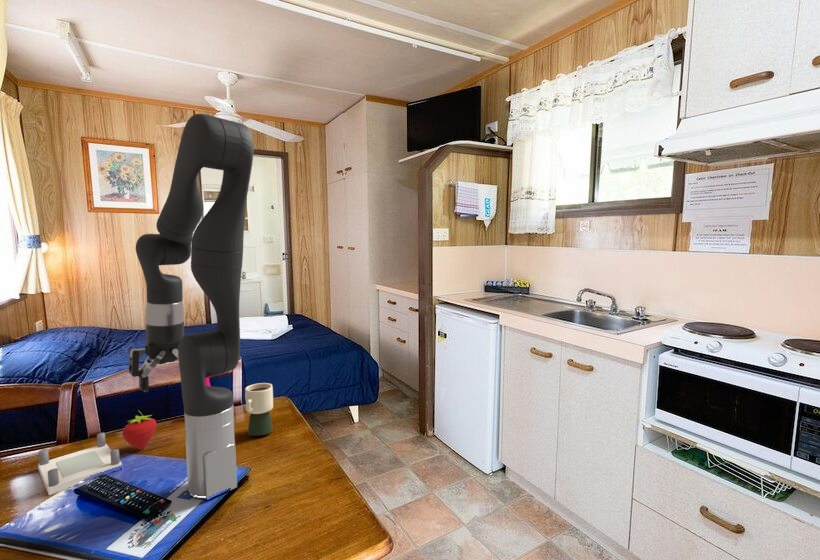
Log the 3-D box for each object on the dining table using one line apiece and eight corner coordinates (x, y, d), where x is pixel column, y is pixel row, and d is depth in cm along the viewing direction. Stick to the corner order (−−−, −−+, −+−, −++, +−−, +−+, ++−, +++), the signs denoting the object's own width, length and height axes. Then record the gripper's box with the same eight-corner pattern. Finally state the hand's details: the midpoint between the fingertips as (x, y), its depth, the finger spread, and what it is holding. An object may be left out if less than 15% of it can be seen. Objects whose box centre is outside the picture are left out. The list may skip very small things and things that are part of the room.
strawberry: (118, 453, 98) (115, 414, 97) (149, 440, 104) (146, 403, 104) (132, 459, 95) (130, 419, 94) (163, 445, 102) (161, 407, 101)
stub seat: (122, 469, 91) (121, 450, 90) (48, 495, 81) (47, 474, 81) (105, 448, 100) (104, 431, 100) (38, 469, 91) (36, 451, 90)
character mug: (259, 423, 114) (258, 379, 113) (282, 425, 113) (281, 381, 112) (236, 441, 103) (234, 393, 102) (261, 444, 102) (259, 395, 101)
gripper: (134, 328, 84) (136, 400, 86) (204, 319, 94) (204, 383, 97) (123, 320, 88) (126, 389, 91) (191, 312, 99) (192, 374, 102)
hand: (166, 386), depth 94 cm, fingers open, 8 cm apart
